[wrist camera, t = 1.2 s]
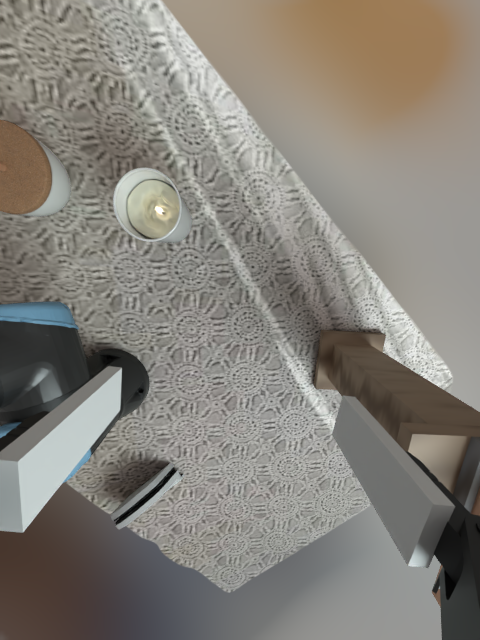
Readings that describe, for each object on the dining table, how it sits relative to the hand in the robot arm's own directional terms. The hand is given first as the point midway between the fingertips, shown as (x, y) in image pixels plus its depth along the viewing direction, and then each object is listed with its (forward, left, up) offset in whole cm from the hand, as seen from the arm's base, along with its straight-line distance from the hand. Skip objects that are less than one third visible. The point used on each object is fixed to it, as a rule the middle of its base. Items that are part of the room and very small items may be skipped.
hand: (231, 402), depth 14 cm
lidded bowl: (-14, +39, -36) cm, 55 cm away
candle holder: (0, +21, -36) cm, 42 cm away
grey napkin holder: (-45, -23, -36) cm, 63 cm away
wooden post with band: (+12, -24, -36) cm, 45 cm away
